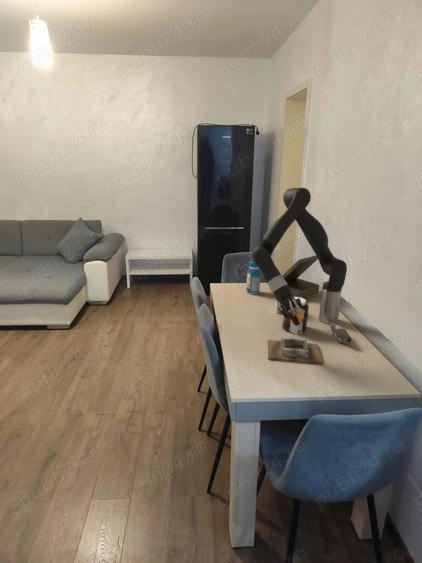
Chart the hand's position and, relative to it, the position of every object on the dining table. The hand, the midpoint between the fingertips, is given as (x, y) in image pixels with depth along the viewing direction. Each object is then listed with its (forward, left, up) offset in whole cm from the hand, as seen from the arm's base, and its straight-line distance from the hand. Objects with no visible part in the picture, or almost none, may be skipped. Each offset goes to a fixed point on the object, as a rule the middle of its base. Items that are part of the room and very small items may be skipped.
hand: (300, 323), depth 152 cm
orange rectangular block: (+2, -1, -5) cm, 5 cm away
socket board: (+1, -1, -14) cm, 15 cm away
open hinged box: (-5, -78, -15) cm, 80 cm away
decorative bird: (-20, -21, -15) cm, 32 cm away
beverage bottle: (+21, -74, -15) cm, 79 cm away
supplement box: (+4, -47, -15) cm, 50 cm away
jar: (-1, -26, -15) cm, 30 cm away
